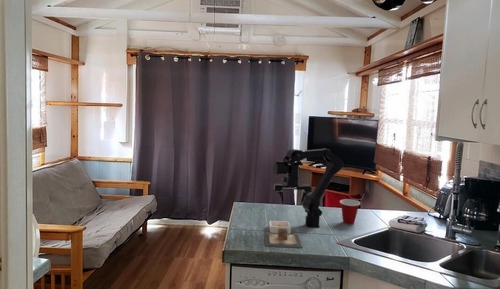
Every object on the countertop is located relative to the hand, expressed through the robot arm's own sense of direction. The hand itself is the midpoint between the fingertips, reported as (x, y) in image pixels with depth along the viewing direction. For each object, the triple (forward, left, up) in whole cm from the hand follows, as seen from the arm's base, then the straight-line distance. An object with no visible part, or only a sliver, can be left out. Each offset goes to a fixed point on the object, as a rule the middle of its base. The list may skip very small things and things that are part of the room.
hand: (291, 204), depth 188 cm
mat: (+6, +21, -12) cm, 25 cm away
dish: (+6, +5, -12) cm, 14 cm away
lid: (+6, +21, -11) cm, 25 cm away
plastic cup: (-33, -13, -12) cm, 37 cm away
